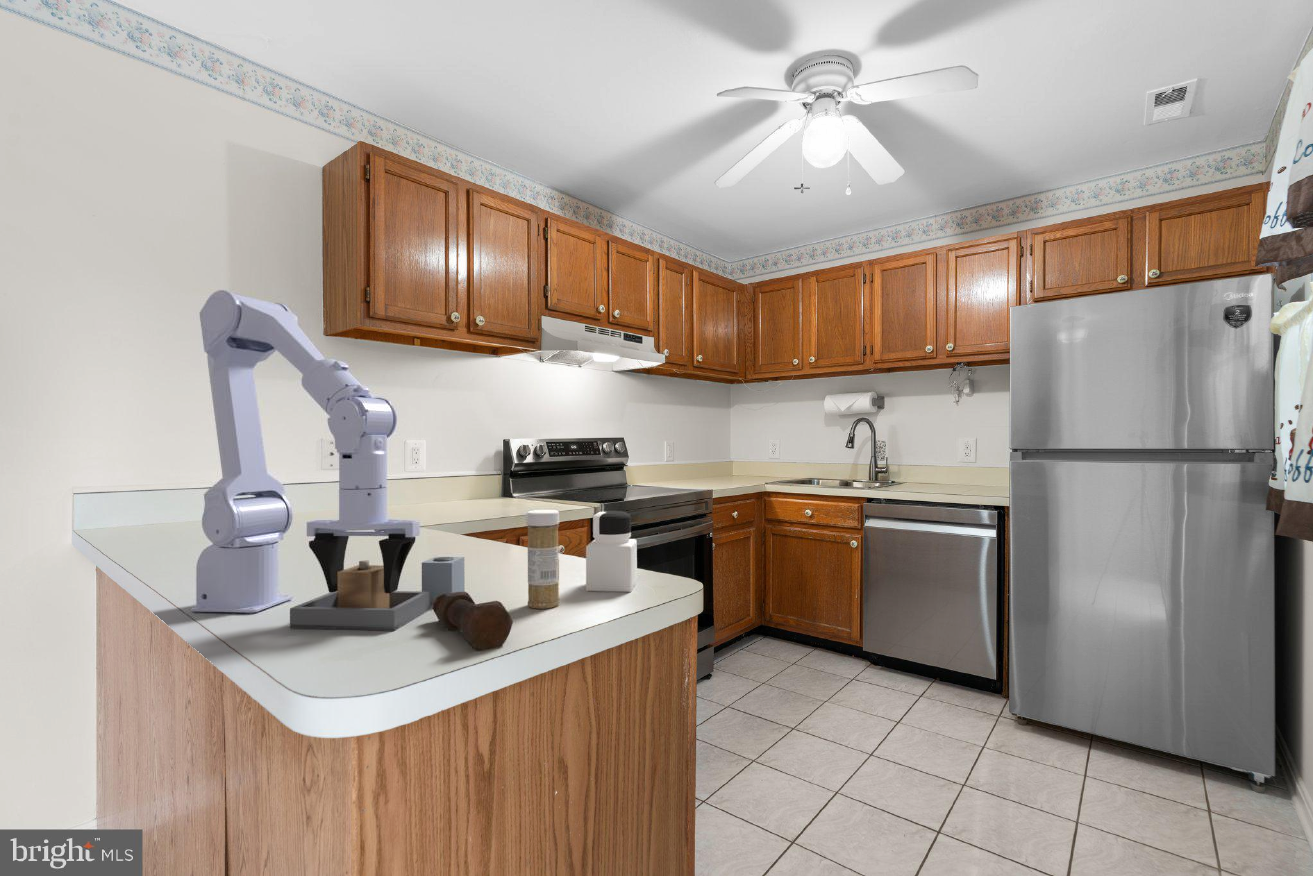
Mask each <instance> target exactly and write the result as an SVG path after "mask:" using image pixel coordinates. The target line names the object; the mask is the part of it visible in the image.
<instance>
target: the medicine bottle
mask: <svg viewBox="0 0 1313 876" xmlns="http://www.w3.org/2000/svg"><path fill="white" fill-rule="evenodd" d="M631 520H632V517H631V514H630V513H627V512H626V511H622V510H621V511H620V510H607V511H599V512H597V513H595V514H594V515H593V516H592V533H593V534H592V537H593V538H594V539H593V540H592V541H591V542H589V544H587V545H586V547H585V590H586V591H587V592H604V593H605V592H608V593H609V592H610V593H611V592H613V593H614V592H615V593H616V592H617V593H618V592H619V593H620V592H621V593H630V592H632V590H633V589H634V587H635V585H636V583H637V581H638V557H637V556H638V554H637V553H638V552H637V551H638V546H637V545H638V542H637V539H635V538H631V537H632V526H631V525H632V522H631Z"/></svg>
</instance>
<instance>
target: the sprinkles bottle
mask: <svg viewBox="0 0 1313 876" xmlns="http://www.w3.org/2000/svg"><path fill="white" fill-rule="evenodd" d="M559 524H560V512H559V510H556V509H534V510H529V511H527V512H526V525H527V583H528V585H527V587H528V588H527V591H528V592H527V594H528V595H527V597H528V598H527V599H528V600H527V606H528V607H530V608H532V609H543V610H546V609H552V608H555V607H557V606H558V605H559V604H560V596H559V593H560V592H559V591H560V590H559V589H560V588H559V585H560V559H559V526H560V525H559Z"/></svg>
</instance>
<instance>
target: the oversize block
mask: <svg viewBox="0 0 1313 876" xmlns="http://www.w3.org/2000/svg"><path fill="white" fill-rule="evenodd" d="M465 580H466V579H465V556H434V557H432V558H429V559H426V560H424V561H422V562H421V591H426V592H430V605H433V604H434V602H435V601H436V600H435V599H436V598H437V597H438V596H439V595H442V594H449V593H455V592H464V591H465V590H466V589H465V587H466V586H465ZM465 592H466V591H465Z"/></svg>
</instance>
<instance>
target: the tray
mask: <svg viewBox="0 0 1313 876" xmlns="http://www.w3.org/2000/svg"><path fill="white" fill-rule="evenodd" d="M430 607H431V604H430V592H426V591H422V590H420V591H419V590H418V591H417V590H416V591H415V590H413V591H412V590H411V591H410V590H396V591H394V592H392V593H389V608H339V607H338V591H336V592H327V593H326V594H325V593H324V594H323V595H320V596H318V597H316V598H313V599H310V600H308V601H305V602H302V603H300V604H297V605H296V606H293V607H289V629H296V630H299V629H300V630H301V629H302V630H303V629H304V630H305V629H306V630H343V631H344V630H347V631H350V630H351V631H391V632H392V631H397V630H398V629H400V628H402V627H403V626H404V625H406V624H408V623H410V622H411V621H413V620H415V619H416V618H418V617H419V616H421V615H423V614H425V613H427V612H428V611H430Z"/></svg>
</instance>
